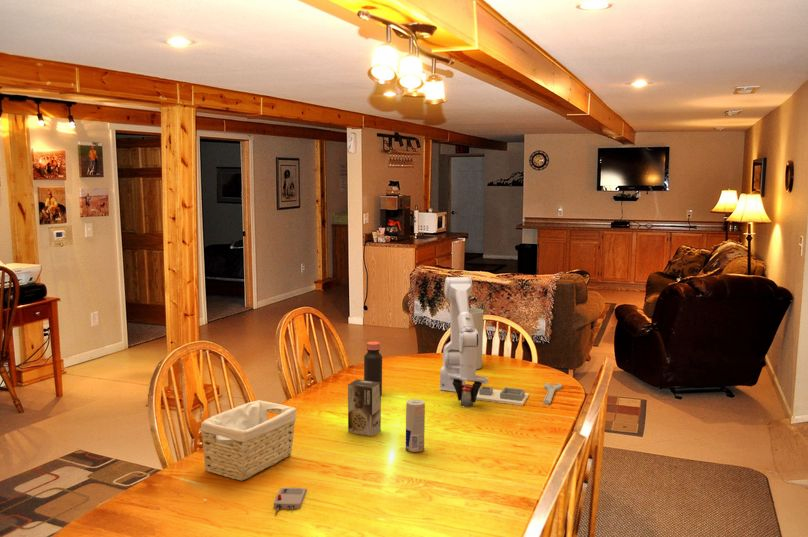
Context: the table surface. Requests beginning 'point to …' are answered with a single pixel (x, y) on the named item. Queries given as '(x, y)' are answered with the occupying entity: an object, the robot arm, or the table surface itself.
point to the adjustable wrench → (550, 392)
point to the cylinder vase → (479, 327)
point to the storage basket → (247, 439)
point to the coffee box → (364, 407)
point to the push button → (466, 395)
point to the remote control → (289, 498)
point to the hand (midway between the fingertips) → (467, 400)
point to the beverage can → (415, 425)
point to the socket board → (502, 395)
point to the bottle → (373, 363)
